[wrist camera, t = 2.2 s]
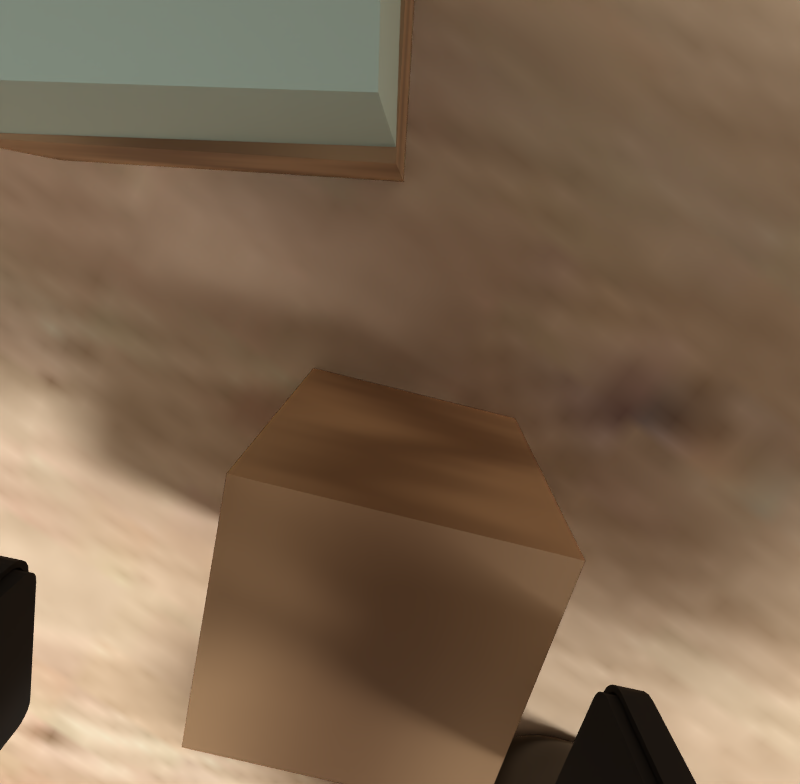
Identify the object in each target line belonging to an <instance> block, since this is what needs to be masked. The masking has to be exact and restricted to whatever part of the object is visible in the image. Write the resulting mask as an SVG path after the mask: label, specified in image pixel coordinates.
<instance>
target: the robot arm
mask: <svg viewBox="0 0 800 784" xmlns="http://www.w3.org/2000/svg"><path fill="white" fill-rule="evenodd" d="M35 593H36V576H35V574H34V573H31V572H28V565H27V563H26V562H25V561H22V560H18V559H13V558H8V557H4V556H0V750H1V749H2V747H3V746H4V745H5V744H6V742H7V741H8V740H9V738H10V737H11V736H12V735H13V733H14V732H15V731H16V729H17V728H18V727H19V725H20V724H21V722H22V720H23V719H24V717H25V714H26V712H27V710H28V707H29V703H30V692H31V673H32V653H33V633H34V613H35ZM555 784H696V782H695V780H694V778H693V776H692V775H691V773H690V771H689V769H688V767H687V765H686V763H685V761H684V759H683V757H682V755H681V754H680V752H679V750H678V748H677V746H676V744H675V742H674V740H673V738H672V736H671V734H670V733H669V731H668V729H667V727H666V725H665V723H664V721H663V719H662V717H661V715H660V714H659V712H658V710H657V708H656V706H655V704H654V702H653V700H652V699H651V697H650V696H649V695H648V694H647V693H646V692H644V691H640V690H635V689H630V688H626V687H621V686H616V685H609V686H608V687H607V688H606V689H605V691H604V692H598V693H597V694H596V695H595V697H594V699H593V701H592V703H591V705H590V707H589V710H588V712H587V714H586V716H585V719H584V721H583V723H582V725H581V727H580V730H579V732H578V734H577V736H576V738H575V741H574V743H573V745H572V747H571V750H570V752H569V754H568V756H567V758H566V761H565V763H564V765H563V767H562V769H561V772H560V774H559V776H558V778H557V781H556V783H555Z"/></svg>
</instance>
